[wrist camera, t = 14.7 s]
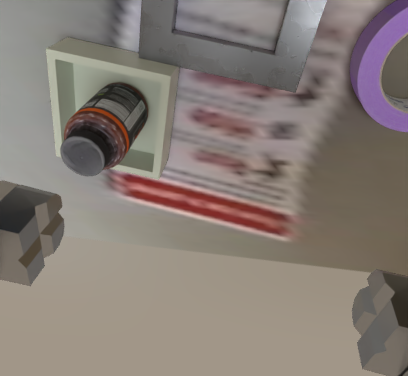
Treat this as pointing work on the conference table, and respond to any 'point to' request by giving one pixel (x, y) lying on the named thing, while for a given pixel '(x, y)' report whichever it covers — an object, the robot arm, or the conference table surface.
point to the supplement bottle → (104, 129)
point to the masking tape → (380, 66)
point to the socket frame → (232, 46)
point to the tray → (106, 74)
